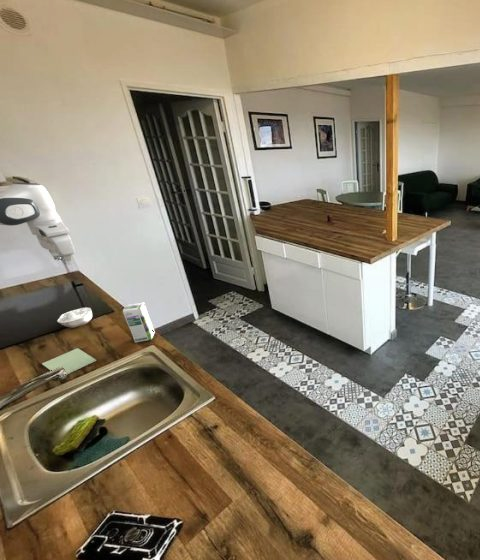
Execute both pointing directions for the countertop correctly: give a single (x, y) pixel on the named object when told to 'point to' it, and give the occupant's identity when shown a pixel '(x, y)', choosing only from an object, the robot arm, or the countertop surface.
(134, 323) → the syrup box
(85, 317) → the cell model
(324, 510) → the countertop surface
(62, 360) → the dish cloth
